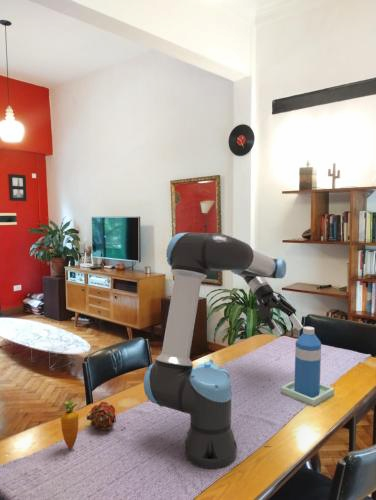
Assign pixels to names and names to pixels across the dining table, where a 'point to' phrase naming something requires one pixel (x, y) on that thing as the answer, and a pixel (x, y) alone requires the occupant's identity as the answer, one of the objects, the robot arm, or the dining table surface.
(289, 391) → the tray
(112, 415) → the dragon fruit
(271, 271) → the robot arm
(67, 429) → the carrot
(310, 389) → the water bottle
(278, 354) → the dining table surface
